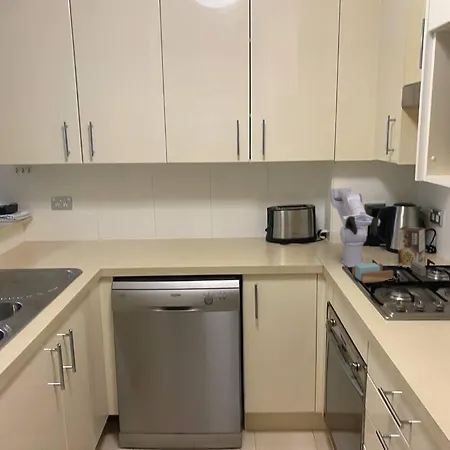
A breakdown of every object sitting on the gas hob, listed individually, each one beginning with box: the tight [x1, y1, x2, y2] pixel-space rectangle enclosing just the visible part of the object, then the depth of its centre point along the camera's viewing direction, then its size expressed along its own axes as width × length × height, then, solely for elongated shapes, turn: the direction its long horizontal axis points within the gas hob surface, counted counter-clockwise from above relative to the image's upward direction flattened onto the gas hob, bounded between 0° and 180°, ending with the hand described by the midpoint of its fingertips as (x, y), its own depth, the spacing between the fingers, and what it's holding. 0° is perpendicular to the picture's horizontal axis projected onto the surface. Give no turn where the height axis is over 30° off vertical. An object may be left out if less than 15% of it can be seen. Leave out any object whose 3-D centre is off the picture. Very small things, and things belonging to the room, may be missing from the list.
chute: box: [351, 263, 394, 284], centre depth 185 cm, size 11×12×4 cm
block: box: [354, 262, 380, 282], centre depth 185 cm, size 5×8×5 cm, turn 97°
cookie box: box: [397, 225, 426, 269], centre depth 195 cm, size 9×6×16 cm
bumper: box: [410, 263, 427, 277], centre depth 188 cm, size 8×2×3 cm, turn 7°
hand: (365, 233), depth 180 cm, fingers open, 7 cm apart
